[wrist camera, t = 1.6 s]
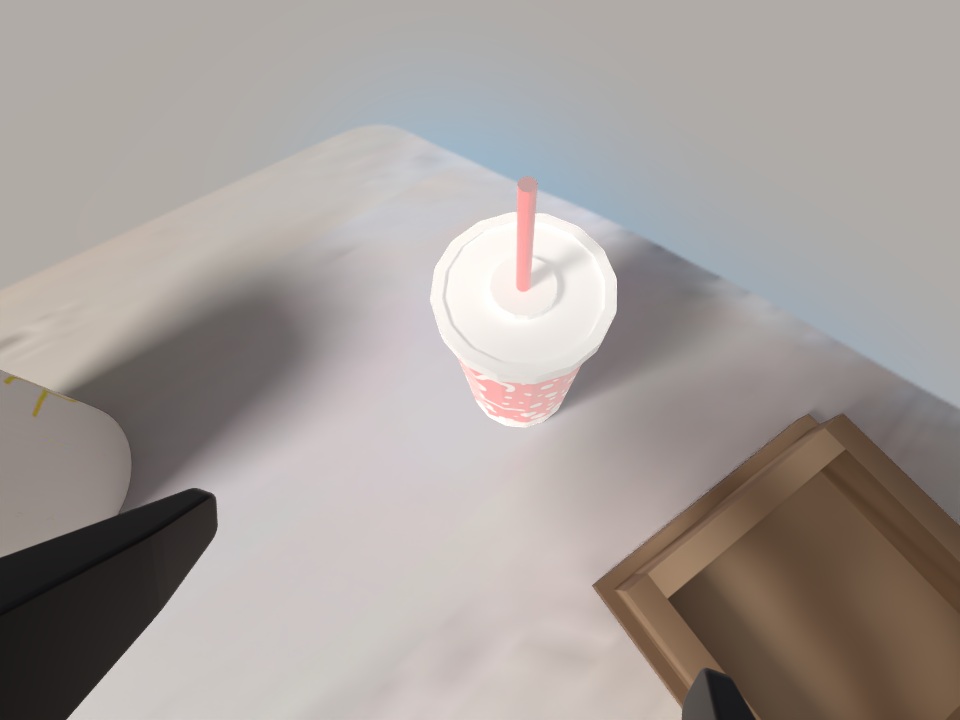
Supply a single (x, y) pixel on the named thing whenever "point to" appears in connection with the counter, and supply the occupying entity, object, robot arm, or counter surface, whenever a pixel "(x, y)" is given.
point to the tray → (804, 585)
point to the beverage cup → (523, 308)
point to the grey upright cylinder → (56, 464)
